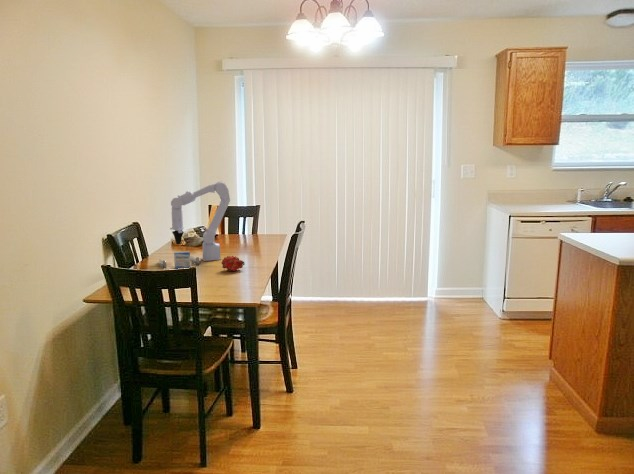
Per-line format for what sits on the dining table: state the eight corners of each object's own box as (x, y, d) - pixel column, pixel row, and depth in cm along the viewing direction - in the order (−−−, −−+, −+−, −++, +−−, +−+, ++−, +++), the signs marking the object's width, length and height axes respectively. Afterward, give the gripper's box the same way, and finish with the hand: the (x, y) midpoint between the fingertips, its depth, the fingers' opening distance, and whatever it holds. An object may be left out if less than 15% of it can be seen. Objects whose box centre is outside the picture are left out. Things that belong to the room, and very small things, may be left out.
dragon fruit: (220, 273, 257) (243, 276, 258) (218, 266, 250) (242, 270, 250) (223, 258, 261) (246, 261, 262) (222, 251, 254) (245, 255, 254)
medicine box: (174, 269, 258) (174, 253, 257) (174, 267, 262) (173, 251, 261) (190, 268, 260) (189, 252, 259) (190, 266, 265) (189, 250, 263)
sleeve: (192, 259, 281) (192, 252, 280) (199, 265, 268) (199, 257, 267) (158, 263, 272) (157, 255, 272) (163, 268, 259) (162, 261, 259)
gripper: (167, 218, 279) (168, 242, 281) (172, 221, 266) (173, 246, 269) (180, 217, 282) (181, 241, 284) (185, 221, 269) (186, 245, 272)
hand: (178, 244), depth 277 cm, fingers closed
